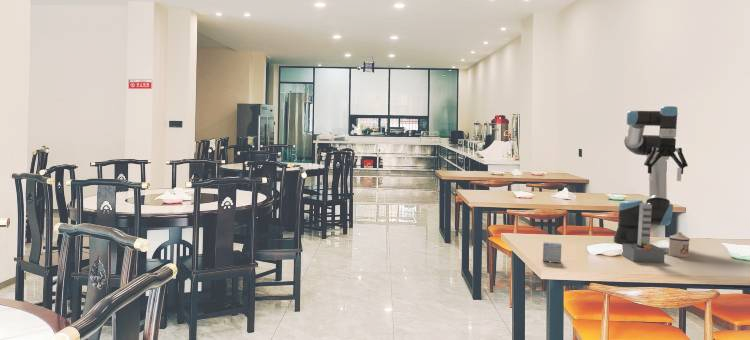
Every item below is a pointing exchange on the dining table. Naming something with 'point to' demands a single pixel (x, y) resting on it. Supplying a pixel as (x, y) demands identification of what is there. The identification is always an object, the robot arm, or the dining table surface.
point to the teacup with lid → (678, 245)
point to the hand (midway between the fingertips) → (664, 180)
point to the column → (644, 224)
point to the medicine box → (552, 252)
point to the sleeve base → (643, 253)
